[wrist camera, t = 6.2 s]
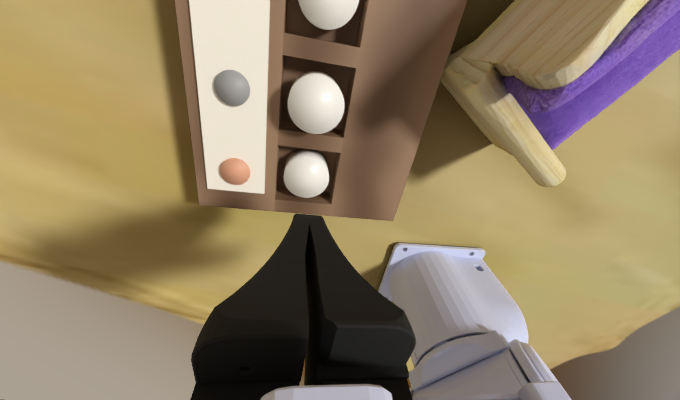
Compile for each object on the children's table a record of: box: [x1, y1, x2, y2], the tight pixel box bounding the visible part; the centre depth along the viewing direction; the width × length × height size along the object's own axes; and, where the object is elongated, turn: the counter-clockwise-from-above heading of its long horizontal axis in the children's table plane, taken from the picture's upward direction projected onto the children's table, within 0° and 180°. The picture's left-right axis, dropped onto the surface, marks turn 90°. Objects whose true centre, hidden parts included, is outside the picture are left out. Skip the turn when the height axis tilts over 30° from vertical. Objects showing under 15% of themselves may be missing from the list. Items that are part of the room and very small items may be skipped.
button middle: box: [288, 71, 345, 134], centre depth 15 cm, size 3×3×2 cm
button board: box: [175, 0, 467, 221], centre depth 16 cm, size 14×16×2 cm
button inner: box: [284, 148, 329, 198], centre depth 19 cm, size 3×3×2 cm
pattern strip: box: [189, 0, 270, 194], centre depth 14 cm, size 4×13×1 cm, turn 170°
